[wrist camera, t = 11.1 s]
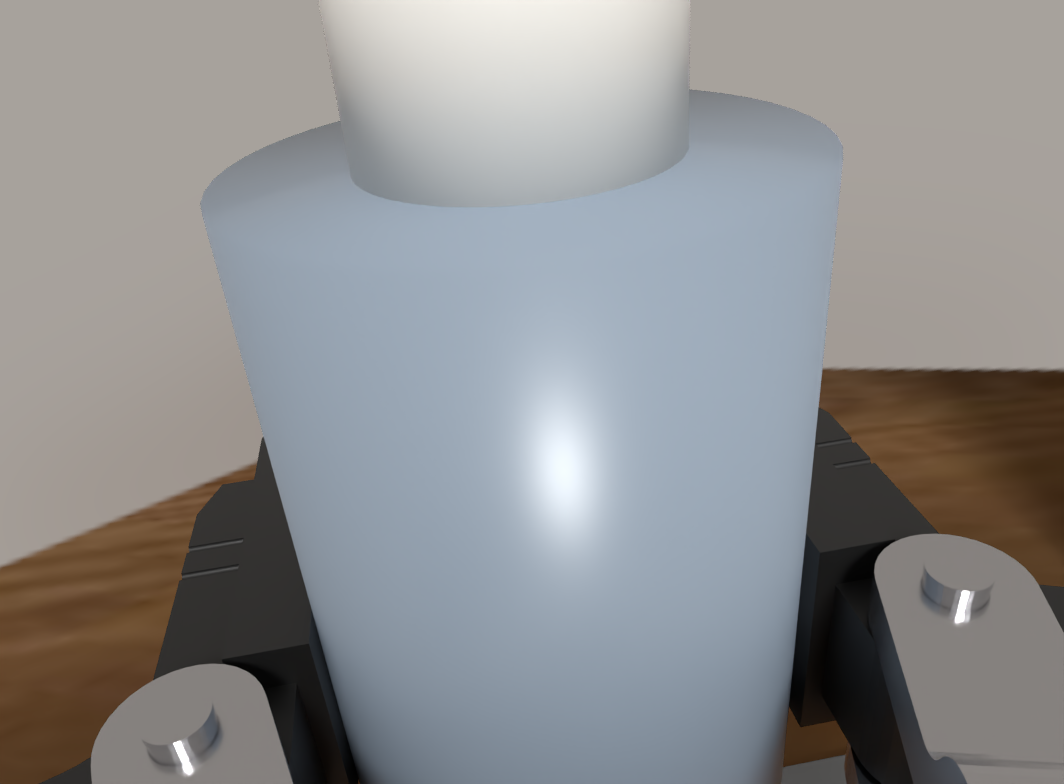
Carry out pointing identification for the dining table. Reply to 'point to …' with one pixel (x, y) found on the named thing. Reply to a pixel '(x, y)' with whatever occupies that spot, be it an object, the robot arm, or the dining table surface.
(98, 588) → the dining table surface
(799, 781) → the mat
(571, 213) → the slim bottle
